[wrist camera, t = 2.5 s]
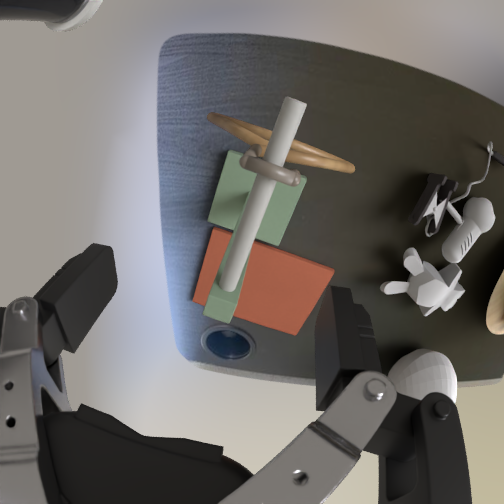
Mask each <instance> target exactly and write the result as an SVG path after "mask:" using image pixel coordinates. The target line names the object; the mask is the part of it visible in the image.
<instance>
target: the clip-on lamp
mask: <svg viewBox="0 0 504 504" xmlns="http://www.w3.org/2000/svg"><path fill="white" fill-rule="evenodd" d="M489 145H490V149H489ZM487 150H488V152H489V159H488V164H487V169H486V172H485V175H484V177H483V178H482V179H481V180H479V181H476V182H472V183H470V184H468V187H467V191H466V193H465V194H464V195H462V196H459V197H457V198H455V199H453V200H451V201H449V199H450V196H451V193H452V191H454V192H455V191H456V189H457V186H458V182H456V181H453V180H447V177H446V176H445V175H441V174H434V173H430V174H429V176H428V178H427V182H428V184H427V186H426V188H425V190H424V191H423V193H422V195H421V197H420V199H419V200H418V202H417V204H416V206H415V207H414V209H413V211H412V213H411V214H410V216H409V219H408V221H409V222H410V223H412V224H414V225H418V224H419V223H420V221H421V219H422V218H423V217H424V216H426V217H427V224H426V227H425V233H426V235H427V236H428V237H430V236H432V235H433V234H436V233H437V232H438V230H439V227H440V225H441V222H442V219H443V216H444V214H445V211H446V209H447V210H448V212H449V213H450V214H451V215H452V216H453V218H454V219H455V220H456V222H457V225H456V226H455V228H454V230H453V231H452V232H451V234H450V235H449V236H448V238H447V239H446V240H445V242H444V243H443V245H442V254H443V256H444V258H445V259H446V260H447V261H449V262H451V263H458V262H460V261H461V260H462V258H463V257H464V256H465V254H466V253H467V252H468V251H469V249H470V248H471V247H472V245H473V244H474V243H475V241H476V240H477V238H478V237H479V236H480V234H481V233H484V232H487V231H488V230H489V229H490V228H491V227H492V226H493V224H494V221H495V215H494V213H493V207H492V204H491V202H490V201H489V200H488V199H486V198H482V197H481V198H476V197H472V198H470V199H469V200H468V201H467V202H466V204H465V205H464V209H463V217H462V218H461V216H460V215H459V214H458V212H457V211H456V210H455V208H454V207H453V206H452V205H451V203H453V202H455V201H458V200H460V199H462V198H464V197H466V196H467V195H468V194H469V192H470V187H471V185H472V184H476V183H480V182H482V181H483V180H484V179H485V177H486V175H487V172H488V168H489V164H490V158H491V155H493V156H492V158H493V159H495V160H496V161H498V162H499V163H500V164H502V165H503V166H504V157H503V156H502V155H501V154H499V153H498V152H496V151H494V152H492V142H489V144H488V146H487ZM439 188H440V190H439V193H438V196H437V191H438V189H439ZM427 231H429V232H430V233H427Z"/></svg>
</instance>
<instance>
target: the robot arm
mask: <svg viewBox="0 0 504 504" xmlns="http://www.w3.org/2000/svg"><path fill="white" fill-rule="evenodd" d="M88 2H89V0H0V20H27V21H28V20H29V21H44V22H52V23H65V22H68V21H70V20H72V19H73V18H75V17H76V16H77V15H78V14H79V13H80V12H81V11H82V10H83V9H84V8H85V6H86V5H87V3H88ZM117 283H118V281H117V273H116V267H115V260H114V254H113V250H112V248H111V247H110V246H106V245H100V244H95V243H93V244H91V245H90V246H89V247H88V248H87V249H86V250H85V251H84V252H83V253H82V254H79V255H77V256H75V257H73V258H71V259H69V260H68V261H67V262H66V263H65V264H64V265H63V266H62V268H61V269H59V270H58V271H57V273H55V276H53V277H52V278H51V279H50V280H49V281H48V282H47V283H46V284H45V285H44V286H43V287H42V288H41V289H40V290H39V292H37V294H36V295H35V296H34V297H33V298H32V297H21V298H18V299H16V300H14V301H12V302H11V303H10V304H9V305H8V306H7V307H0V504H323V502H324V501H325V500H326V499H327V498H328V497H329V496H330V495H331V493H332V492H333V491H334V490H335V489H336V488H337V486H338V485H339V484H340V483H341V482H342V480H343V479H344V478H345V477H346V476H347V474H348V473H349V472H350V471H351V469H352V468H353V467H354V466H355V464H356V463H357V461H358V460H359V458H360V456H361V455H360V453H361V452H362V450H363V451H367V452H370V453H373V454H377V455H379V499H378V500H379V501H378V504H472V497H471V487H470V477H469V470H468V463H467V456H466V451H465V444H464V439H463V433H462V428H461V423H460V419H459V414H458V410H457V407H456V405H455V403H454V402H453V400H452V399H451V398H450V397H448V396H447V395H445V394H443V393H440V392H432V393H429V394H427V395H426V396H425V397H424V398H423V399H422V400H419V399H416V398H413V397H410V396H406V395H403V394H401V393H399V392H397V391H396V388H395V386H394V384H393V382H392V381H391V380H390V379H389V378H388V377H387V376H386V375H384V374H383V373H382V369H381V364H380V359H379V354H378V350H377V345H376V341H375V338H374V332H373V329H372V323H371V319H370V315H369V314H368V313H367V311H366V310H365V309H364V307H363V306H362V305H360V304H354V303H353V298H352V293H351V290H350V288H343V287H337V286H330V285H329V286H328V288H327V290H326V293H325V296H324V299H323V302H322V305H321V308H320V311H319V314H318V317H317V321H316V326H315V360H316V410H317V411H325V412H324V413H323V414H322V415H321V416H320V417H319V418H318V419H317V420H316V421H315V422H312V423H311V424H309V425H308V426H307V427H306V428H305V429H304V430H303V431H302V432H301V433H300V434H299V435H298V436H297V437H296V438H295V439H294V440H293V441H292V442H291V443H290V444H289V445H287V446H286V448H284V449H283V450H282V451H281V452H280V453H279V454H278V455H277V456H276V457H274V458H273V459H272V460H271V461H270V462H269V463H268V464H266V465H265V466H264V467H263V468H262V469H261V470H260V471H258V472H257V473H256V474H255V475H253V474H252V473H251V472H250V471H249V470H248V469H247V468H245V467H244V466H242V465H241V464H240V463H238V462H236V461H234V460H232V459H231V458H228V457H226V456H224V455H223V447H222V446H218V445H213V444H208V443H203V442H199V441H194V440H190V439H186V438H165V437H149V436H143V435H141V434H139V433H137V432H136V431H134V430H133V429H131V428H130V427H128V426H126V425H125V424H123V423H122V422H120V421H119V420H117V419H116V418H114V417H113V416H111V415H109V414H106V413H103V412H101V411H98V410H96V409H94V408H91V407H89V406H86V405H84V404H81V405H80V407H79V408H78V411H72V409H71V407H70V405H69V401H68V398H67V392H66V386H65V380H64V372H63V364H62V358H61V355H60V353H61V352H62V350H63V349H64V350H66V351H69V352H71V353H75V351H76V350H77V348H78V347H79V345H80V344H81V342H82V341H83V339H84V338H85V336H86V335H87V333H88V332H89V330H90V329H91V327H92V326H93V324H94V323H95V321H96V320H97V318H98V317H99V316H100V314H101V313H102V311H103V310H104V308H105V307H106V306H107V304H108V303H109V301H110V300H111V299H112V297H113V296H114V294H115V292H116V289H117Z"/></svg>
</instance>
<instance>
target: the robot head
mask: <svg viewBox="0 0 504 504" xmlns="http://www.w3.org/2000/svg"><path fill="white" fill-rule="evenodd" d="M388 378H389V379H390V380H391V381H392V382H393V384H394V386H395V388H396V391H397V392H399V393H401V394H403V395H406V396H410V397H413V398H416V399H419V400H422V399H423V398H424V397H425V396H426V395H427V394H429V393H432V392H440V393H443V394H445V395H447V396H448V397H450V398H451V399H452V400H453V402H454V403H455V401H456V393H457V377H456V374H455V371H454V369H453V366H452V364H451V362H450V361H449V359H448V358H447V357H446V356H445V355H444V354H441V353H439V352H436V351H432V350H428V349H423V348H422V349H417V350H415V351H413V352H411V353H409V354H407V355H405V356H404V357H402V358H400V359H399V360H398V361H397V362H396V363H395V364H394V365H393V367H392V368H391V370H390V372H389V374H388Z"/></svg>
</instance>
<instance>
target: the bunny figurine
mask: <svg viewBox="0 0 504 504" xmlns="http://www.w3.org/2000/svg"><path fill="white" fill-rule="evenodd" d="M403 260H404V266H405V267H406V268H407V269H408V270H409V271H410V272H411V273H410V275H409V278H408V280H407V282H395V281H388V282H384V283H383V284H382V285H381V287H380V290H381V291H382V292H384V293H385V294H396V293H403V292H407V293H408V295H409V296H410V297H411V298H412V299H413V300H414V301H415V302H416V303H417V304H419V308H420V310H421V312H422V314H423V316H427V315H429V314H430V313H432V312H433V311H434V310H436V309H437V308H438V307H440V306H441V307H442V309H443V310H444V311H447V310H448V309H449V308H452V307H453V305H454V304H455V303H456V302H457V299H458V298H460V297H461V296H462V294H463V293H464V292H465V290H464V289H463V287H462V286H461V285H460V284H459V283H458V280H459V278H460V275H461V273H462V271H461V269H460V268H459V267H458V265H457V264H456V263H451V264H450V265H448V266H446V267H445V268H443V269H442V270H440V271H437V270H436V269H435V267H434V266H432V265H431V264H430V263H428V262H426V261H423V262H421V259H420V257H419V255H418V253H417V251H416V250H415V249H414V248H409V249H407V250H406V251H405V253H404V256H403Z"/></svg>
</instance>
